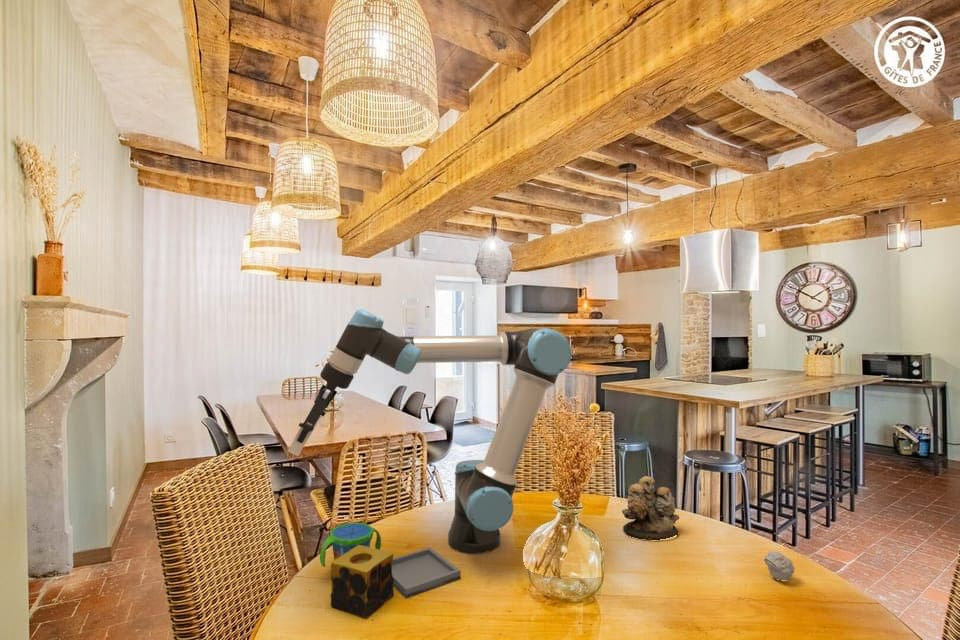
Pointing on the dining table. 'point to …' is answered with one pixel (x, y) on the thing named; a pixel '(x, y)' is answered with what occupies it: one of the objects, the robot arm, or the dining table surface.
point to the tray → (422, 572)
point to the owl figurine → (650, 511)
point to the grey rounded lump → (779, 566)
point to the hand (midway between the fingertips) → (298, 444)
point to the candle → (362, 580)
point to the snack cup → (349, 539)
